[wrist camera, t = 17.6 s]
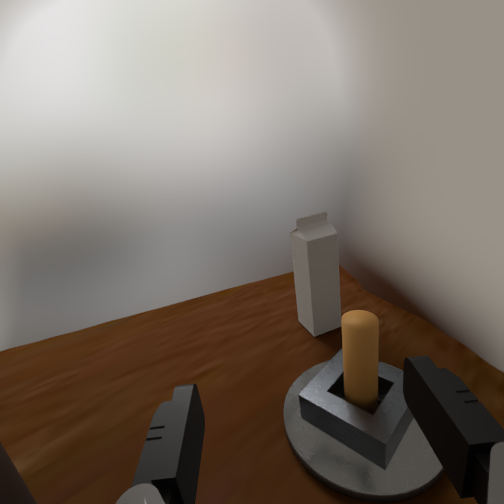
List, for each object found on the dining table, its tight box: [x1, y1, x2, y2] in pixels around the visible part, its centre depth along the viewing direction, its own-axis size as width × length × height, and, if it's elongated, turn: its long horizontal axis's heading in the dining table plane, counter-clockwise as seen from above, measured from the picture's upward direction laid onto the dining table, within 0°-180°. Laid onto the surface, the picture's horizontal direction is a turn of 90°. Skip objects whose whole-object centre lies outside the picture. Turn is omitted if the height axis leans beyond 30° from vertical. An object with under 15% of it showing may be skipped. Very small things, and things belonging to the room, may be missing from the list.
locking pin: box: [341, 310, 379, 415], centre depth 39 cm, size 4×4×14 cm
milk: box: [290, 212, 341, 337], centre depth 59 cm, size 6×6×22 cm
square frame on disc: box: [284, 347, 445, 503], centre depth 41 cm, size 20×20×6 cm
